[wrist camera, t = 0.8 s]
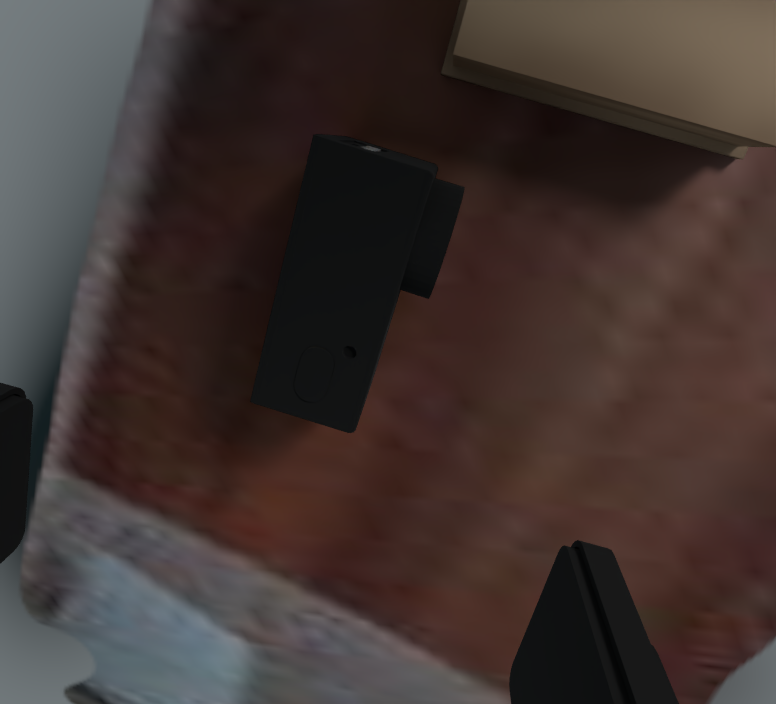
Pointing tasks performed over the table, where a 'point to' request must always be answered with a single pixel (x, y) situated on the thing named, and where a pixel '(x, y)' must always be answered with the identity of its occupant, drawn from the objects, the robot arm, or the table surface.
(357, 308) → the digital camera
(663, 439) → the table surface
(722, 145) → the plinth
